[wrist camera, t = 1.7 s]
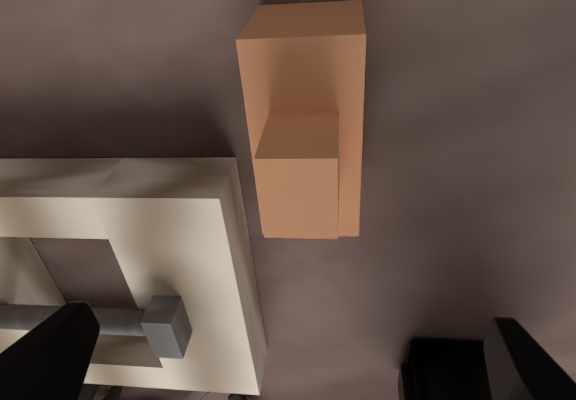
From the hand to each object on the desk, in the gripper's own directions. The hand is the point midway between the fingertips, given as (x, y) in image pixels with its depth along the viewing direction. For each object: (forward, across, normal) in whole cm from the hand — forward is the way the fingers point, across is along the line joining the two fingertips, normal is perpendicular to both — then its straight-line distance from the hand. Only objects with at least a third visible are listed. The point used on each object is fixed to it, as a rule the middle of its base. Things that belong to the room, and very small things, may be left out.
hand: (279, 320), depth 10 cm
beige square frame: (+12, +14, +11) cm, 21 cm away
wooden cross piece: (+12, 0, 0) cm, 12 cm away
